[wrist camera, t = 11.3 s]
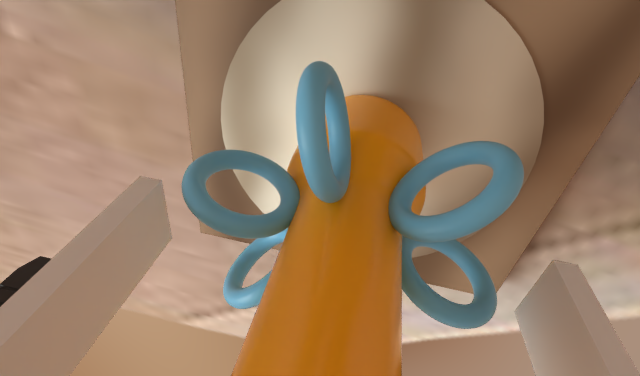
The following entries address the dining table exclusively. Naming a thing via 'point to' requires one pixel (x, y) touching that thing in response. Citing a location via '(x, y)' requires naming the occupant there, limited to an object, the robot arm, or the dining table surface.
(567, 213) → the dining table surface
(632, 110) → the dining table surface
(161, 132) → the dining table surface
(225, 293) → the cylinder
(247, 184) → the board
